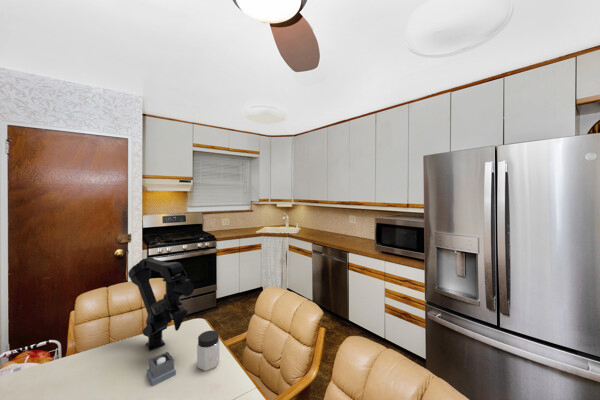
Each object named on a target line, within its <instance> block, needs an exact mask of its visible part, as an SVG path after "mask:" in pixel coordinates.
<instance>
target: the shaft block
mask: <svg viewBox="0 0 600 400" xmlns="http://www.w3.org/2000/svg"><path fill="white" fill-rule="evenodd" d="M164 362H166V358H165V357H161V358H159V359H158V360H157V365H159V364H161V363H164ZM176 373H177V372H176V368H175V367H174V370H172V371H170V372H168V373H166V374H163V375H161V376H159V377H157V378H155V379H154V378H153V376H152V375H151V373H150V371H149V368H148V369H146V375H147V378H148V379H149V381H150V383H151V385H152V386H155V385H158V384H159V383H162V382H163V381H165V380H168V379H170V378H172V377H174V376H176Z"/></svg>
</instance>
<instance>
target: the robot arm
mask: <svg viewBox="0 0 600 400" xmlns="http://www.w3.org/2000/svg"><path fill="white" fill-rule="evenodd" d="M151 271H155V272H158V273H160V276H162V277H164V278H163V279H162V281H163V282H165V293H164V294H163V297H162V299H159V300H158V301H157V299H156V296H155V293H154V291H153V288H152V285H151V283H150V279H151V275H152V274H151ZM127 275H128V278H129V279H130V281H131V283H133V285H136V286H137V288H138V291H139V293H140V296H141V299H142V302H143V305H144V308H145V311H146V314H147V316H146V320H145V323H146V324H145V325H146V326H145V327H144V328H143V330H142V333H143V336H145V337H147V338H148V341H147V342H146V343H145V345H146V347H147V349H148V351H151V350H152V351H153V350H155V349H158V348H160V347H162V346H165V345H166V342H165V341H164V340H163V331H165V330H167V328H168V326H169V325H168V324H170V323H172V321H173V327H174V330H175V331H178V330H179V329H180V327H181V325H182V323H183V321H184V320H185V318H186V317H187V316H189V310H188V309H187V308H186V307H184V306H183V304H182V303H183V302H181V297H190V296H191V295H192V294H193V293H194V291H195V285H194V284H193V283H194V282H191V279H189V278H188V274H187V272H186V271H185V268H184V266H183V265H182V263H181V262H179V261H178V262H177V261H173V262H171V261H170V262H166V261H163V260H159V259H155V258H154V257H145V258H142V259H141V260H139V262H138V263H136V264H135V265H133V266H132V267H131V268H130V269H129V271H128V274H127Z"/></svg>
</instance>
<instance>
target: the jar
mask: <svg viewBox="0 0 600 400" xmlns="http://www.w3.org/2000/svg"><path fill="white" fill-rule="evenodd" d="M219 337H220V333H219V332H218V331H216V330H206V331H203V332H202V333H200V334H199V335H198V337H197V345H196V351H197V352H196V356H197V357H196V366H197V368H198V369H200V370H202V371H205V372H207V371H209V370H212V369H214V368H217V366H218V363H219V362H220V338H219Z"/></svg>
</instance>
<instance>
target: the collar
mask: <svg viewBox="0 0 600 400" xmlns="http://www.w3.org/2000/svg"><path fill="white" fill-rule="evenodd" d="M161 357H165V358H166V362H164V363H161V364H159V365H157V360H158V359H159V358H161ZM174 366H175V359H174V358H173V356H172V355H171V354H170V352H169V351H166V352H163V353H160V354H158V355H156V356H154V357H151V358H149V359H148V369H149V371H150V373H151V375H152V376H153V378H154V379H155V378H157V377H159V376H161V375H163V374H166V373H168V372H170V371H172V370H174V368H175V367H174Z"/></svg>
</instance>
